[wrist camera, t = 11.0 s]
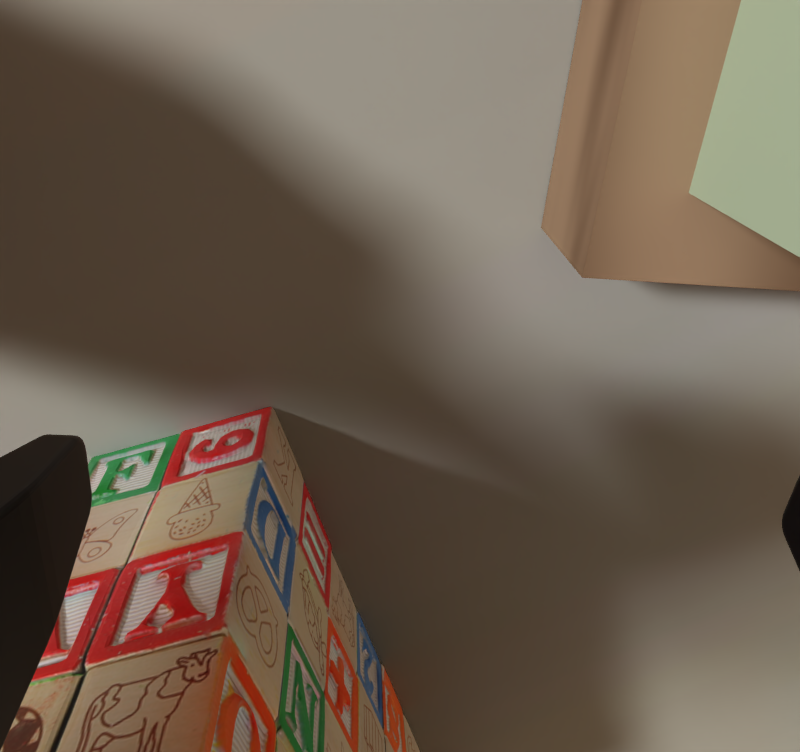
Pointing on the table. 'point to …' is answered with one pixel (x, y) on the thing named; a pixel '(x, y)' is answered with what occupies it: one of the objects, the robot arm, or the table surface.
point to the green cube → (757, 125)
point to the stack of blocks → (208, 612)
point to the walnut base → (649, 152)
